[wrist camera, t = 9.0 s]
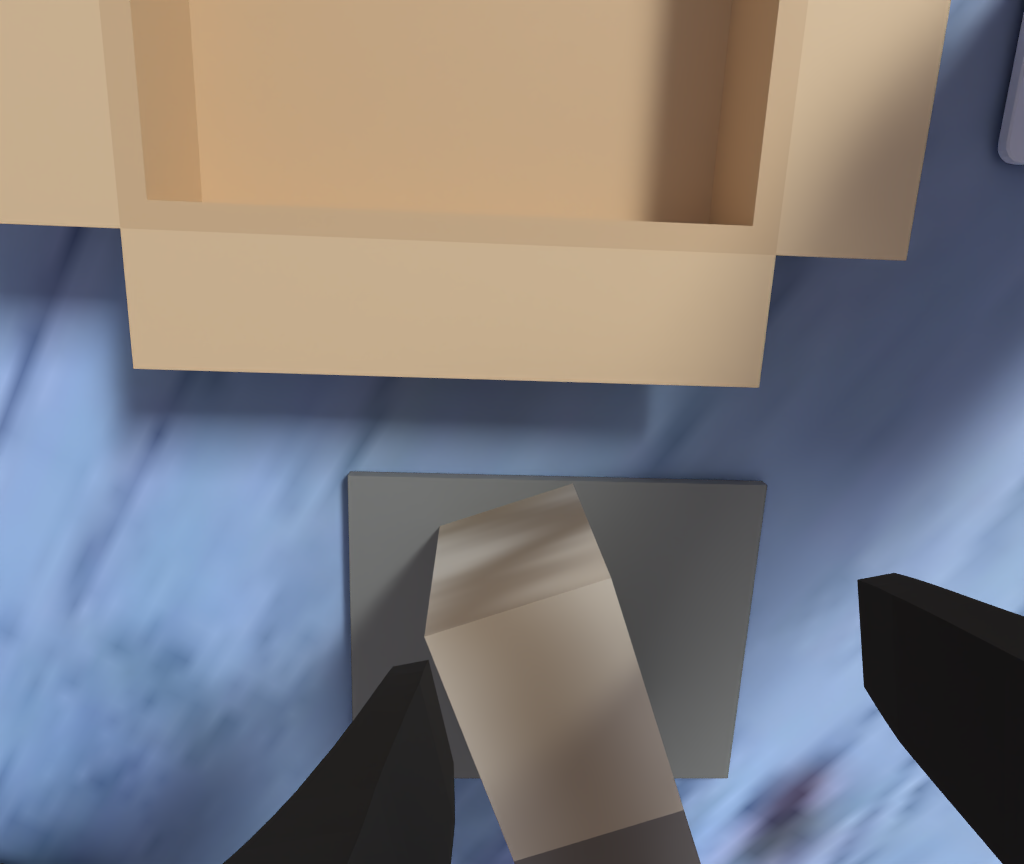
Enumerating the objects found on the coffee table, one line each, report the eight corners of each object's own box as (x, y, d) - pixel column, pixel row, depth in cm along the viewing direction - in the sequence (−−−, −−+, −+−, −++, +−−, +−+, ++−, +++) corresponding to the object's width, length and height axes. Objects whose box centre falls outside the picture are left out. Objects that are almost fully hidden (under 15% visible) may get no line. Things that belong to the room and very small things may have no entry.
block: (572, 483, 20) (611, 577, 14) (645, 712, 22) (704, 877, 16) (439, 526, 20) (424, 636, 14) (524, 750, 22) (539, 927, 16)
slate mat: (762, 480, 21) (767, 485, 20) (723, 769, 23) (727, 778, 23) (350, 471, 20) (347, 475, 20) (355, 769, 23) (353, 778, 22)
